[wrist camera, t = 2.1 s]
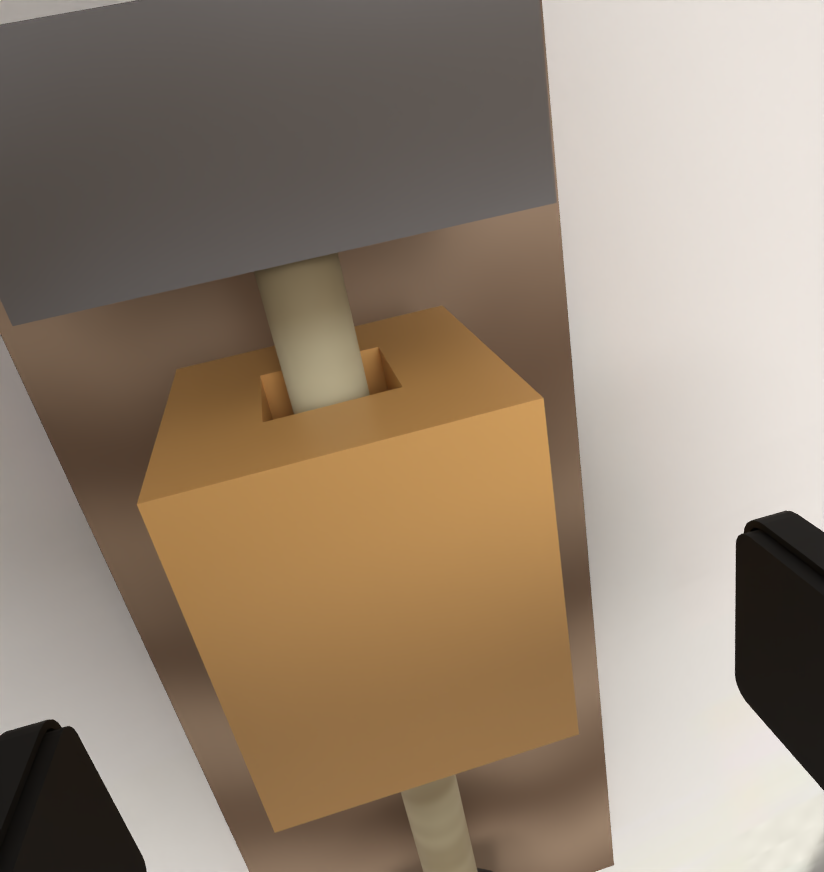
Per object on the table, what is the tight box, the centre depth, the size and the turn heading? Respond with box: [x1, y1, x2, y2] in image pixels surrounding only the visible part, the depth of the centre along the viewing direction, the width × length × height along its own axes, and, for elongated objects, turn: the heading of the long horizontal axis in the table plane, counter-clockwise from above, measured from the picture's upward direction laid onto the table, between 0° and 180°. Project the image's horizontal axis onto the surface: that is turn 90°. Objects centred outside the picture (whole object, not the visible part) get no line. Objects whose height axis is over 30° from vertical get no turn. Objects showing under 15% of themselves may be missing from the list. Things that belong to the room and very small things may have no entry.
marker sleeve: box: [137, 306, 579, 833], centre depth 12 cm, size 6×5×5 cm
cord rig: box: [0, 0, 614, 872], centre depth 16 cm, size 28×12×8 cm, turn 10°
